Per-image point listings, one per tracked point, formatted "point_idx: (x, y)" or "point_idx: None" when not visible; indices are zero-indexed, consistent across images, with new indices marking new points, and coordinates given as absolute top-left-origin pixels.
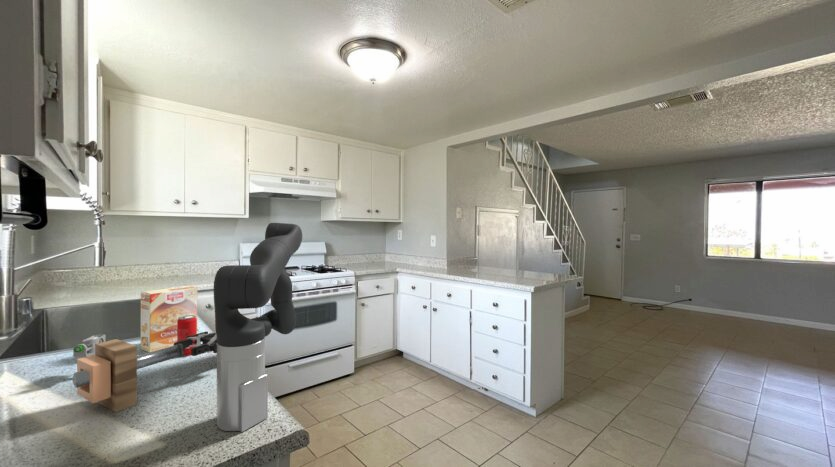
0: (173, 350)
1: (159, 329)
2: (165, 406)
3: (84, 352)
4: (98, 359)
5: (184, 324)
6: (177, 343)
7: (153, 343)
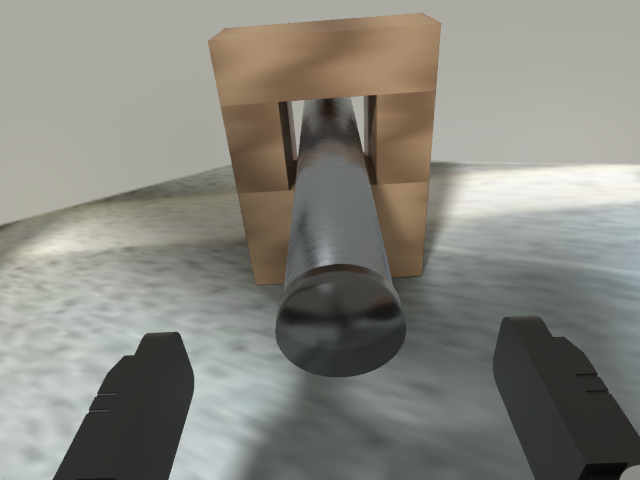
0: (292, 254)
1: None
2: (128, 321)
3: None
4: None
5: None
6: (515, 339)
7: None
